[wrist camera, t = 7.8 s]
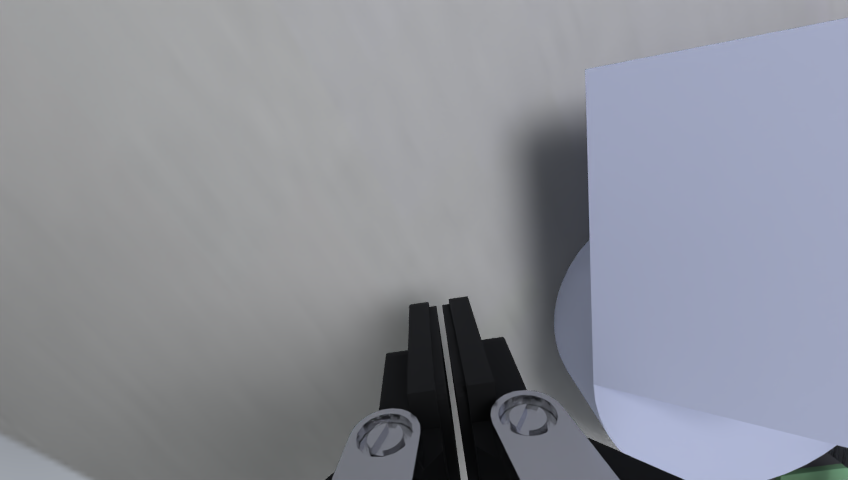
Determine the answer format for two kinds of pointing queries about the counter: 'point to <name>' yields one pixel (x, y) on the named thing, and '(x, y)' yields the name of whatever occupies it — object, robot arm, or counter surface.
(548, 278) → the counter surface
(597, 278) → the wedge on round base
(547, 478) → the robot arm
